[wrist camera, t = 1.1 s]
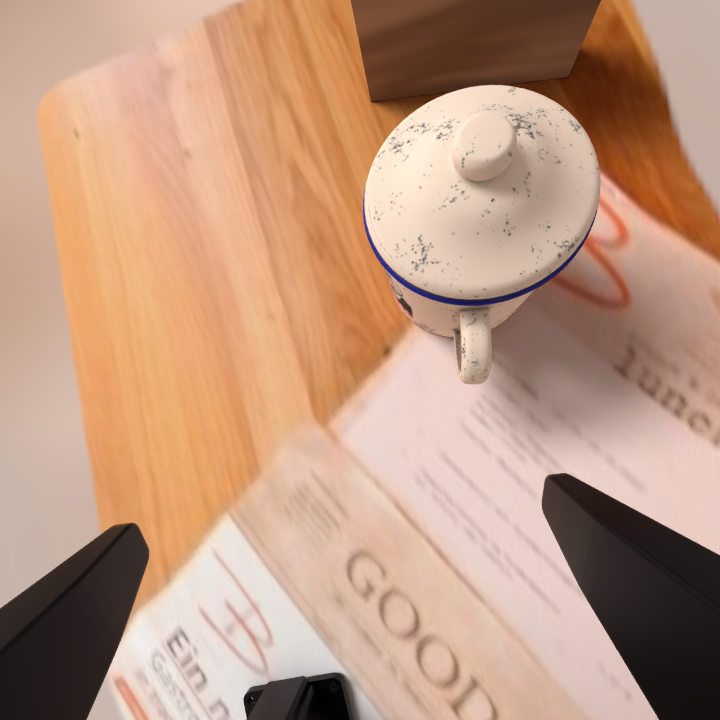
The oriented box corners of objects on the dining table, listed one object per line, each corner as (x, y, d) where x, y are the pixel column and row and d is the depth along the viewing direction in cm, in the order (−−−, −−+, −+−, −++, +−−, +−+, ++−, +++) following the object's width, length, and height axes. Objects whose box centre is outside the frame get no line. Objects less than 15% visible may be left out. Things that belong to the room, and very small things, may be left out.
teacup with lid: (385, 215, 23) (343, 42, 12) (527, 198, 22) (634, -27, 10) (390, 389, 22) (347, 377, 11) (542, 386, 20) (687, 366, 9)
